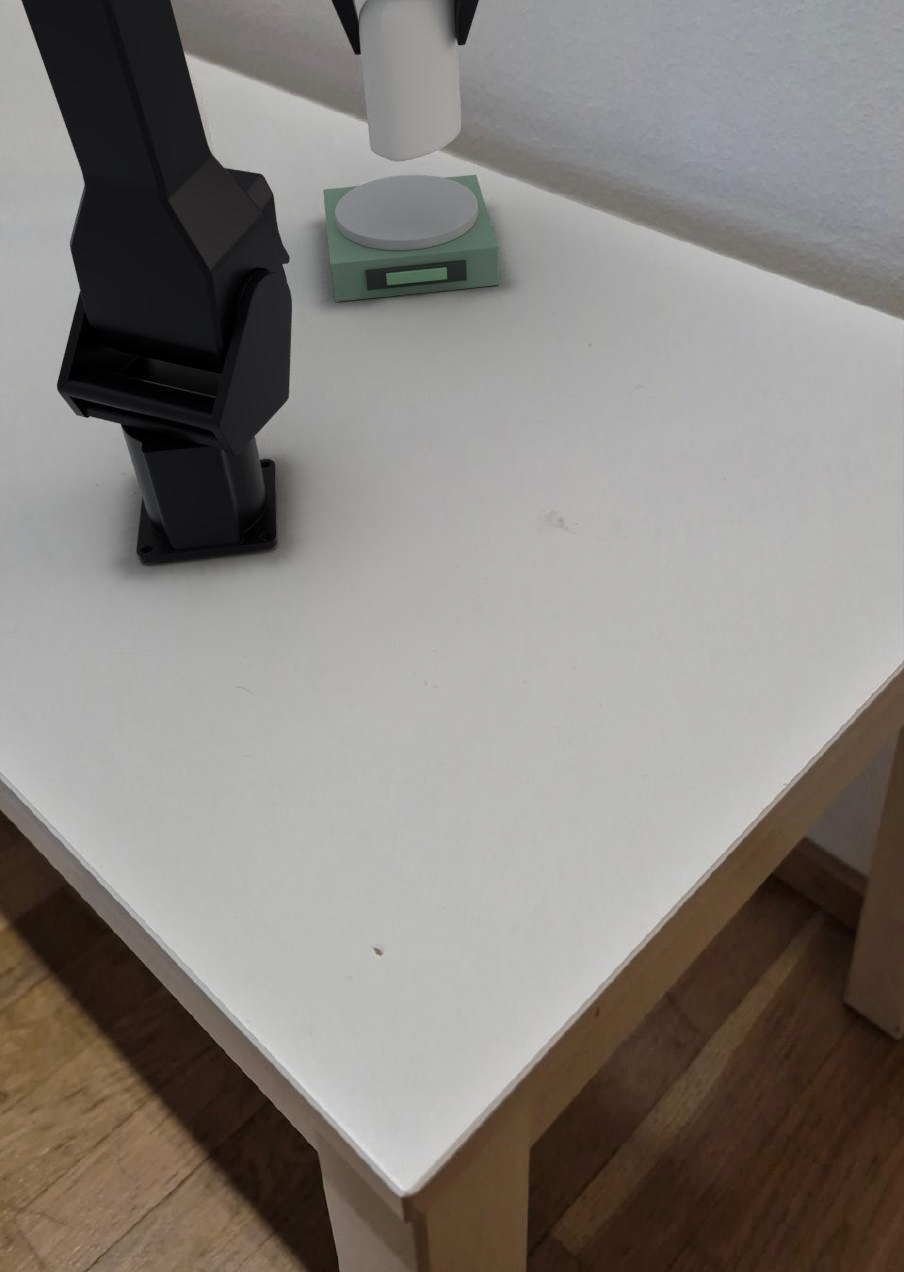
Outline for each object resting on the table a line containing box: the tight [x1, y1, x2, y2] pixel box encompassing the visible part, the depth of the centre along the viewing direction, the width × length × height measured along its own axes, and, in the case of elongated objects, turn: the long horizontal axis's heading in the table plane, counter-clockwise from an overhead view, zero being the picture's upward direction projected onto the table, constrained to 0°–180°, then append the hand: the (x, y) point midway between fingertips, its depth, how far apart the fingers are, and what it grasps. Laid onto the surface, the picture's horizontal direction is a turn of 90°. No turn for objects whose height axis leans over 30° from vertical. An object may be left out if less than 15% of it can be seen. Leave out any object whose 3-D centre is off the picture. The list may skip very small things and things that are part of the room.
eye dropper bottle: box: [358, 0, 462, 162], centre depth 62 cm, size 4×6×12 cm
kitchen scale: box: [323, 174, 500, 303], centre depth 72 cm, size 10×10×3 cm
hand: (410, 47), depth 62 cm, fingers closed on eye dropper bottle, 5 cm apart
